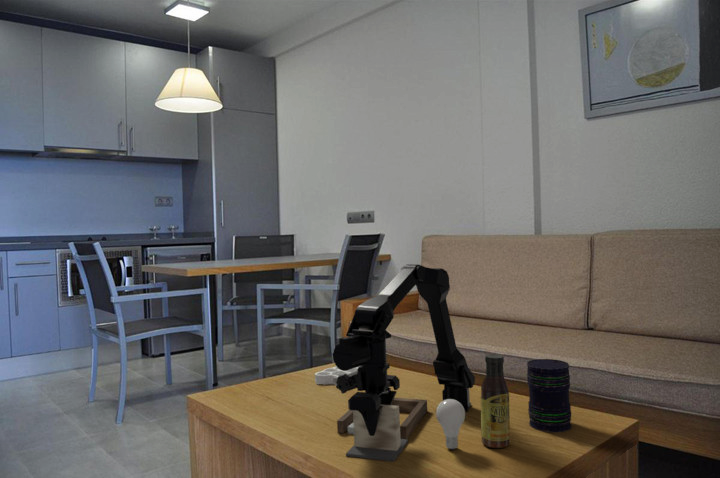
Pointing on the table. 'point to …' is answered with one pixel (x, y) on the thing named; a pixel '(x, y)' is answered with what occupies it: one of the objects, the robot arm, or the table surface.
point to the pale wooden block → (379, 430)
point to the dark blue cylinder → (549, 395)
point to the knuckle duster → (331, 375)
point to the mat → (376, 452)
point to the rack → (405, 405)
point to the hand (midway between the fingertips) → (377, 429)
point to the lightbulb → (450, 420)
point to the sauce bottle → (495, 404)
